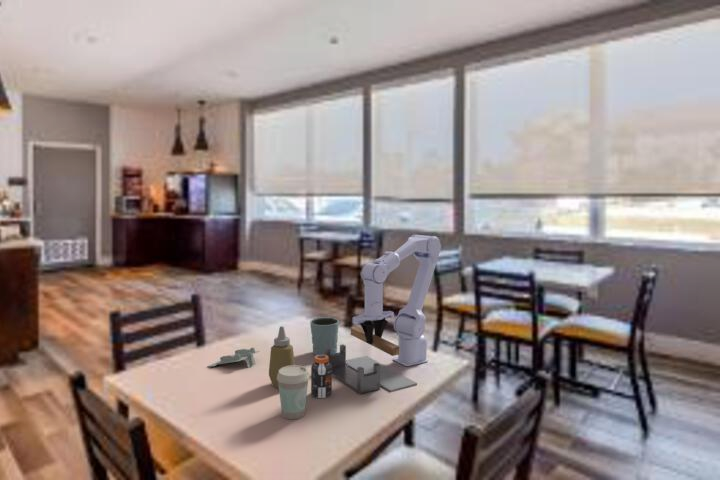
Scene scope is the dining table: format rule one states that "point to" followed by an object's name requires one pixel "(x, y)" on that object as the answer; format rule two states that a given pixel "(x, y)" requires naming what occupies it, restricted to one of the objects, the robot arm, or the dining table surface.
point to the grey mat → (382, 373)
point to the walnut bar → (376, 341)
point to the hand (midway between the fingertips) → (373, 342)
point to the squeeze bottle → (280, 356)
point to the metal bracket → (238, 357)
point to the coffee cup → (293, 390)
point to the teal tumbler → (324, 335)
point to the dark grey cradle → (353, 373)
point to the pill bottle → (321, 377)
